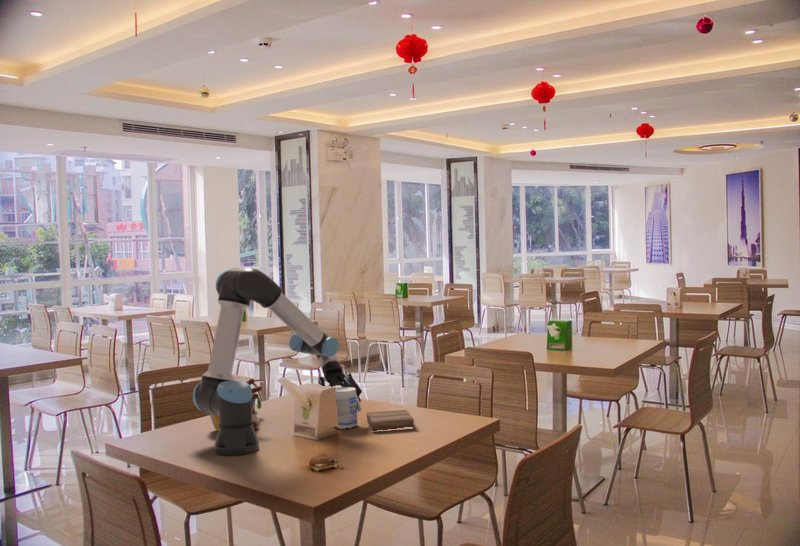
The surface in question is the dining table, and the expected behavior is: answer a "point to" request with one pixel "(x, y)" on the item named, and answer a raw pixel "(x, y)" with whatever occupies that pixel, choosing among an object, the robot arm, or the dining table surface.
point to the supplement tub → (346, 407)
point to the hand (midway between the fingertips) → (348, 411)
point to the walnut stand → (389, 420)
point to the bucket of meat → (255, 418)
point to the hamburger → (323, 462)
